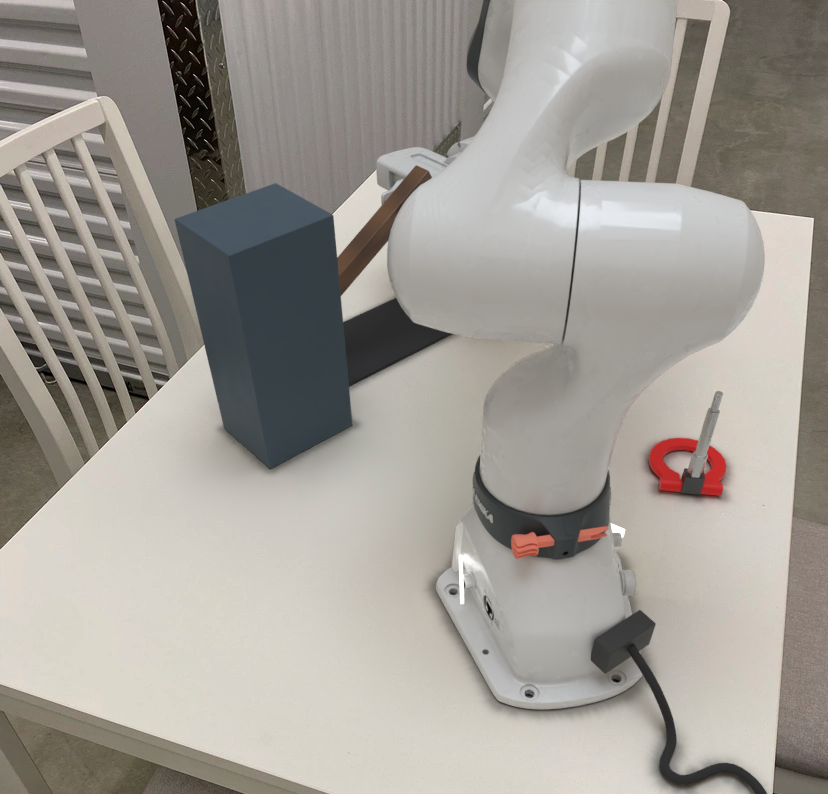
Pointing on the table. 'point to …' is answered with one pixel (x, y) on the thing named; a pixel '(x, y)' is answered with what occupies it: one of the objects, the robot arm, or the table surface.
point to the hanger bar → (376, 230)
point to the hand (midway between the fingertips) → (394, 207)
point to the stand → (270, 319)
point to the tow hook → (692, 460)
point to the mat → (383, 339)
